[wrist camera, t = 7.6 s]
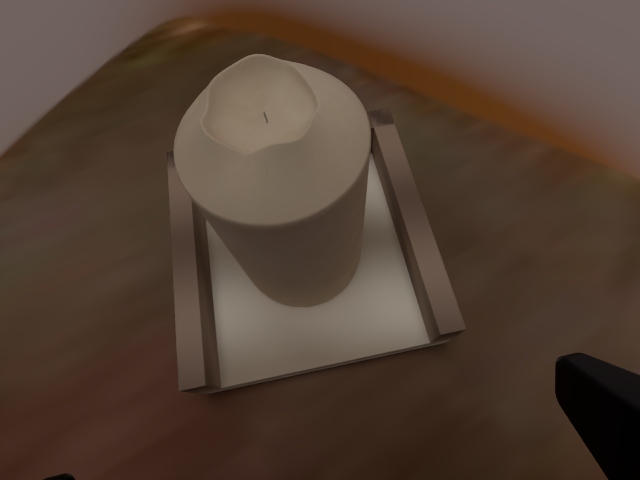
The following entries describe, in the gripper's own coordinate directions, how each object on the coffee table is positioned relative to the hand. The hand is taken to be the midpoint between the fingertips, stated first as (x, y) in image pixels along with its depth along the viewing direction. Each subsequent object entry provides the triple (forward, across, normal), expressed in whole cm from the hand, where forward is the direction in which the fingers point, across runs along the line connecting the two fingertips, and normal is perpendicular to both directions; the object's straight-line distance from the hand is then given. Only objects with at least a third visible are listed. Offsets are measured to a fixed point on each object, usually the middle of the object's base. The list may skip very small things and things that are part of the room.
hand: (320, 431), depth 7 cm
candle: (+12, 0, +1) cm, 12 cm away
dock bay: (+13, 0, +2) cm, 13 cm away
